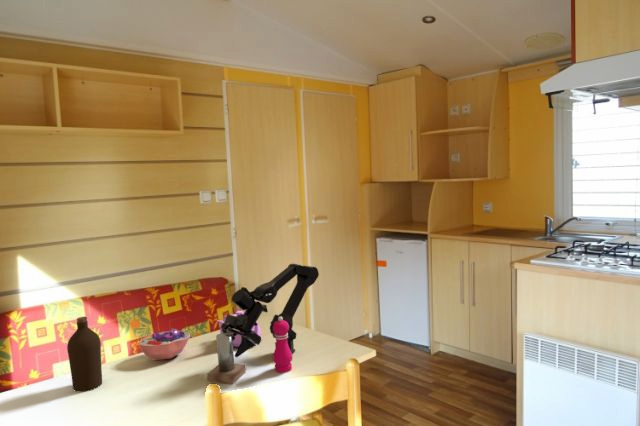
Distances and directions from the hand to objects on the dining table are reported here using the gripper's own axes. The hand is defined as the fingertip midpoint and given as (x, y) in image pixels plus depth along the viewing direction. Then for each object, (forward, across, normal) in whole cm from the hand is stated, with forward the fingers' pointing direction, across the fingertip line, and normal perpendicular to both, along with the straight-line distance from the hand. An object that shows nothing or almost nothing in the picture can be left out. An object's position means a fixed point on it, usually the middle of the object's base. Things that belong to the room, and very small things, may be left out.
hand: (228, 353), depth 166 cm
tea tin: (+4, 0, +3) cm, 5 cm away
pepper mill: (-5, +11, +17) cm, 21 cm away
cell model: (+10, -37, +2) cm, 38 cm away
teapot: (-9, -26, +21) cm, 34 cm away
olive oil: (+32, -34, -21) cm, 51 cm away
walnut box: (+7, 0, +5) cm, 8 cm away
